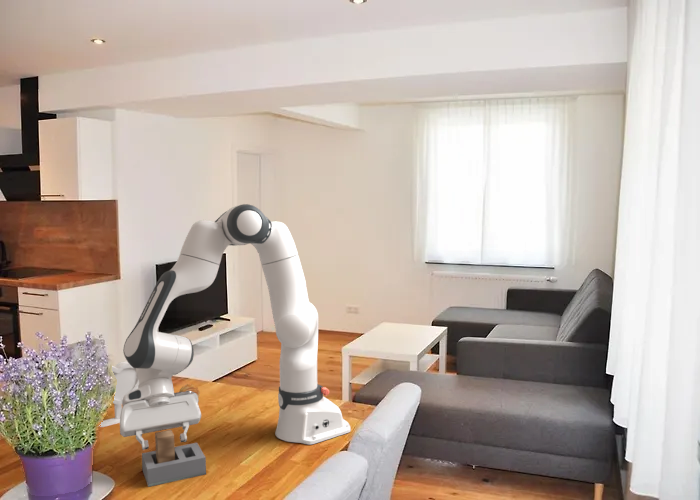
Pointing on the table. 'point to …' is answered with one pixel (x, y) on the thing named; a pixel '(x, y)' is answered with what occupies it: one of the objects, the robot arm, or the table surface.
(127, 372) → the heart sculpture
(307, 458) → the table surface
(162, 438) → the walnut peg
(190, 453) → the caddy
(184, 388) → the pastry
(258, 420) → the table surface
